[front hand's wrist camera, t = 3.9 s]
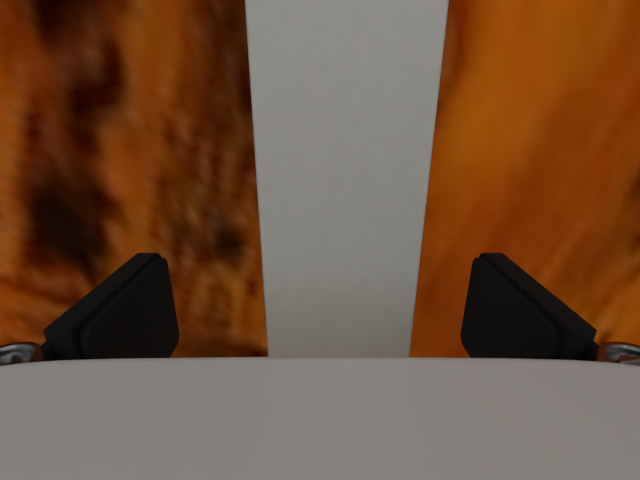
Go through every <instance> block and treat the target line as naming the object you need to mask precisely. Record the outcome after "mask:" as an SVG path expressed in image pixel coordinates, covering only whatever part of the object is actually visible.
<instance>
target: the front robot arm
mask: <svg viewBox="0 0 640 480" xmlns="http://www.w3.org/2000/svg"><path fill="white" fill-rule="evenodd" d="M43 331H44V334H45V337H46V340H47V341H46V342H45V343H43V344H42V345H41V346H40V345H39V344H36V343H34V342H16V343H10V344H6V345H2V346H0V480H640V346H638V345H634V344H630V343H624V342H606V343H604V344H601V345H600V346H599V345H598V344H597V343H595V342H594V341H593V340H594V337H595V334H596V331H597V330H596V329H595V328H593V327H592V326H591V325H590V324H588V323H587V322H586V321H585V320H584V319H582V318H581V317H580V316H579V315H577V314H576V313H575V312H574V311H573V310H571V309H570V308H569V307H568V306H566V305H565V304H564V303H563V302H562V301H560V300H559V299H558V298H557V297H555V296H554V295H553V294H552V293H551V292H549V291H548V290H547V289H546V288H544V287H543V286H542V285H541V284H540V283H538V282H537V281H536V280H535V279H533V278H532V277H531V276H530V275H529V274H527V273H526V272H525V271H524V270H522V269H521V268H520V267H519V266H518V265H516V264H515V263H514V262H513V261H511V260H510V259H509V258H508V257H507V256H505V255H504V254H502V253H482V254H480V256H479V258H475V259H474V260H473V263H472V269H471V275H470V281H469V287H468V293H467V299H466V305H465V311H464V317H463V323H462V329H461V341H462V344H463V346H464V348H465V349H466V351H467V353H468V354H469V356H470V358H414V357H217V358H170V356H171V354H172V353H173V351H174V349H175V348H176V346H177V344H178V341H179V329H178V323H177V317H176V311H175V305H174V299H173V293H172V287H171V281H170V275H169V269H168V263H167V260H166V259H165V258H161V256H160V254H158V253H138V254H136V255H135V256H133V257H132V258H131V259H130V260H129V261H127V262H126V263H125V264H124V265H122V266H121V267H120V268H119V269H118V270H116V271H115V272H114V273H113V274H111V275H110V276H109V277H108V278H107V279H105V280H104V281H103V282H102V283H100V284H99V285H98V286H97V287H96V288H94V289H93V290H92V291H91V292H89V293H88V294H87V295H86V296H85V297H83V298H82V299H81V300H80V301H78V302H77V303H76V304H75V305H74V306H72V307H71V308H70V309H69V310H67V311H66V312H65V313H64V314H63V315H61V316H60V317H59V318H58V319H56V320H55V321H54V322H53V323H52V324H50V325H49V326H48V327H47V328H45V329H44V330H43Z"/></svg>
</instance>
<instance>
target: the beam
mask: <svg viewBox="0 0 640 480" xmlns="http://www.w3.org/2000/svg"><path fill="white" fill-rule="evenodd" d="M448 3H449V0H245V9H246V24H247V40H248V55H249V71H250V86H251V101H252V117H253V132H254V147H255V163H256V178H257V194H258V209H259V224H260V240H261V255H262V271H263V286H264V301H265V317H266V332H267V348H268V357H409V354H410V345H411V336H412V327H413V318H414V309H415V300H416V291H417V282H418V273H419V264H420V255H421V246H422V237H423V228H424V219H425V210H426V201H427V192H428V183H429V174H430V165H431V156H432V147H433V138H434V129H435V120H436V111H437V102H438V93H439V84H440V75H441V66H442V57H443V48H444V39H445V30H446V21H447V12H448Z"/></svg>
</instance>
